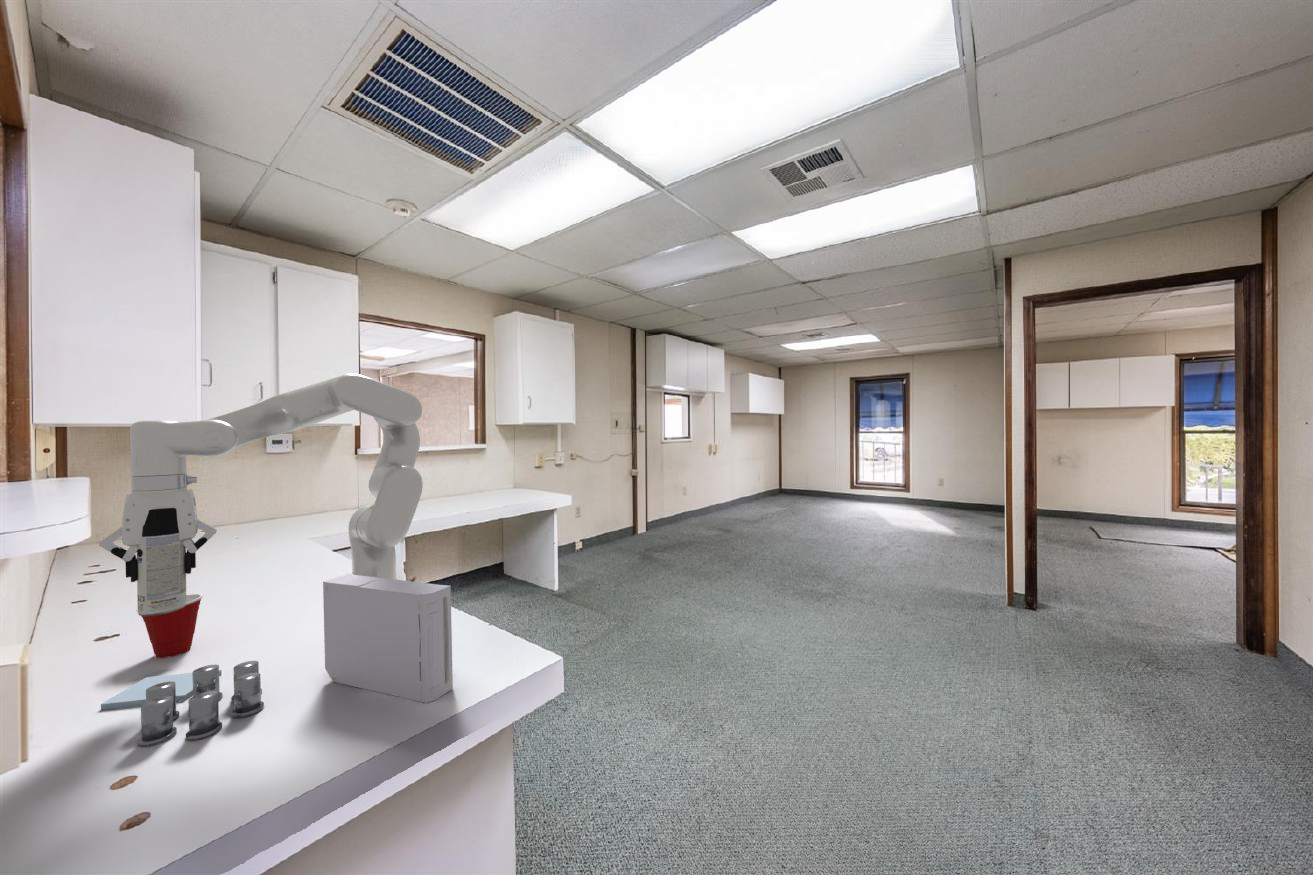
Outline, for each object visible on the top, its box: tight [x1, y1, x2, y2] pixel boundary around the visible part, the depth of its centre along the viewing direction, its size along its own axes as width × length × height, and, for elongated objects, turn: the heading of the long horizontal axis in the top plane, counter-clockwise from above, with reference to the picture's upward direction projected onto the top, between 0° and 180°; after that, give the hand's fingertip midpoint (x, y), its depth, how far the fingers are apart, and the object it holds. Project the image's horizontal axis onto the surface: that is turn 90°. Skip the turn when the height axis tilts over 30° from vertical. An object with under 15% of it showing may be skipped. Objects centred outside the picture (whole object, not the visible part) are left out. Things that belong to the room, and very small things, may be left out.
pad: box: [100, 669, 222, 711], centre depth 94 cm, size 13×10×1 cm
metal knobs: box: [137, 660, 265, 748], centre depth 85 cm, size 17×16×6 cm
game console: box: [322, 573, 454, 704], centre depth 95 cm, size 6×27×20 cm, turn 70°
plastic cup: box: [136, 593, 204, 659], centre depth 111 cm, size 11×11×12 cm
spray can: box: [136, 508, 187, 616], centre depth 94 cm, size 7×7×20 cm
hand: (162, 575), depth 94 cm, fingers closed on spray can, 6 cm apart
